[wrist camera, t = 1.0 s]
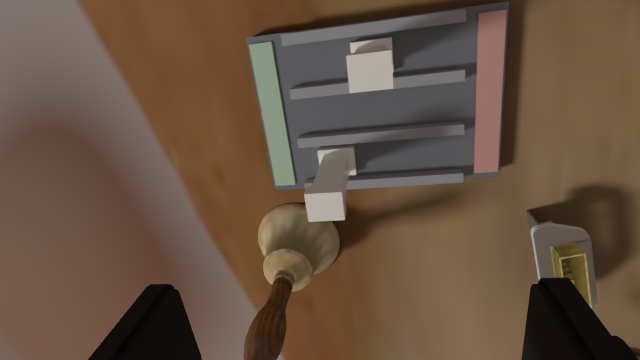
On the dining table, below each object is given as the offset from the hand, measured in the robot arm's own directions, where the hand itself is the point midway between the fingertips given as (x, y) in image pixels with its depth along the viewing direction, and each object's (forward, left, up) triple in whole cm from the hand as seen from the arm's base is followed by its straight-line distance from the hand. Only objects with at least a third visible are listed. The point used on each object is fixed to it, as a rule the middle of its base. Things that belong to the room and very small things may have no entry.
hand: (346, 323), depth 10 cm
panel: (-1, -1, -24) cm, 24 cm away
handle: (+3, +3, -22) cm, 23 cm away
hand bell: (+8, +12, -24) cm, 28 cm away
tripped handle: (-1, -5, -22) cm, 23 cm away
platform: (-15, +14, -24) cm, 32 cm away
